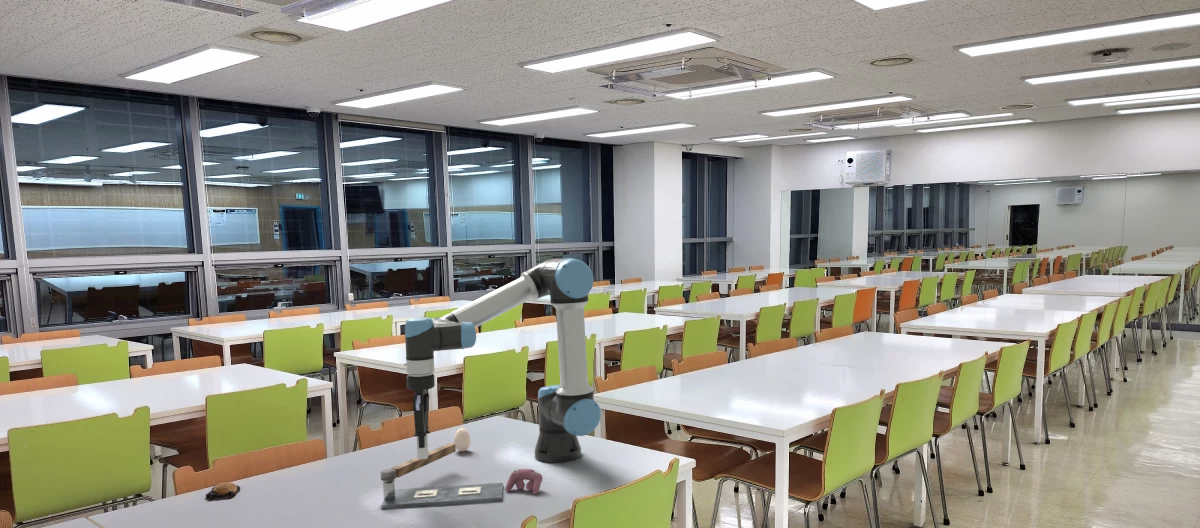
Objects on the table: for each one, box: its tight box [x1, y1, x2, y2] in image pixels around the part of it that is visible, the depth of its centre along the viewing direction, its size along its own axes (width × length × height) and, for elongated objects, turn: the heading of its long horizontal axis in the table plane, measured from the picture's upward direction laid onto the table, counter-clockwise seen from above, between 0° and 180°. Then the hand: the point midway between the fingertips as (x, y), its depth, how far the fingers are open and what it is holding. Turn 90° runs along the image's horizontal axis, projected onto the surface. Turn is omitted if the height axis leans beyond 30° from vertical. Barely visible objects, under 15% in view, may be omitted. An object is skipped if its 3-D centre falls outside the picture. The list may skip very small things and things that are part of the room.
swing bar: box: [380, 442, 457, 482], centre depth 213 cm, size 30×4×2 cm, turn 154°
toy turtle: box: [205, 481, 241, 503], centre depth 210 cm, size 11×8×4 cm
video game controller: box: [505, 468, 543, 496], centre depth 206 cm, size 10×5×7 cm, turn 72°
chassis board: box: [380, 479, 504, 510], centre depth 202 cm, size 32×12×6 cm, turn 96°
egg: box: [453, 427, 471, 453], centre depth 246 cm, size 6×6×8 cm
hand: (422, 458), depth 202 cm, fingers closed
